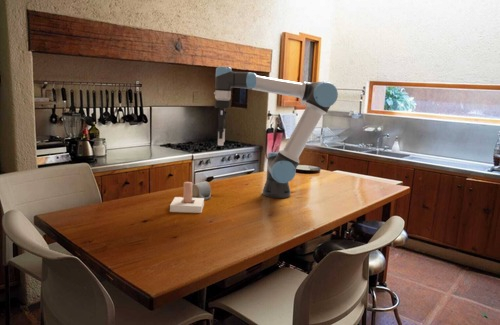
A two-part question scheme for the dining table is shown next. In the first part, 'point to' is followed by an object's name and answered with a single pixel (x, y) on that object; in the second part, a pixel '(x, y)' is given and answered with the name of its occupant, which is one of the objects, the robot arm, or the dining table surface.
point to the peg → (187, 192)
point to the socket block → (187, 205)
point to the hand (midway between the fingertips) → (221, 143)
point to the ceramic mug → (201, 190)
